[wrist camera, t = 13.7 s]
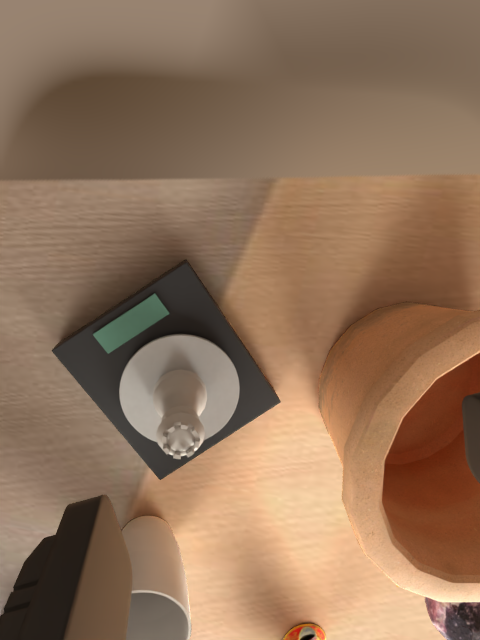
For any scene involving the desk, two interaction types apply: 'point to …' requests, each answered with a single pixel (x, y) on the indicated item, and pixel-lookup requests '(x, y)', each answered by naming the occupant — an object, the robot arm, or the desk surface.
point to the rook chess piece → (180, 412)
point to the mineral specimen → (455, 619)
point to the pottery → (409, 444)
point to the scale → (166, 363)
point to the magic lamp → (305, 633)
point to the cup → (156, 582)
